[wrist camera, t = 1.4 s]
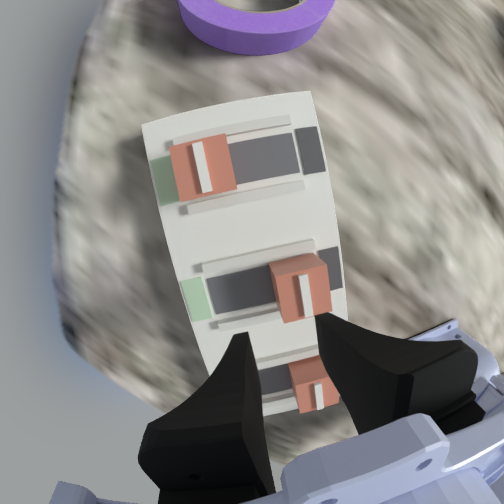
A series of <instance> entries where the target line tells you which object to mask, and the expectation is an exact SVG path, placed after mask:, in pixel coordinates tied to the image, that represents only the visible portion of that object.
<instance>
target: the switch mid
mask: <svg viewBox="0 0 504 504" xmlns="http://www.w3.org/2000/svg"><path fill="white" fill-rule="evenodd" d="M268 264H269V269H270V274H271V279H272V284H273V289H274V294H275V299H276V304H277V307H278V310H279V312H280V315H281V317H282V320H283V322H284V324H285V323H289V322H293V321H297V320H301V319H305V318H309V317H313V316H314V315H318V314H322V313H326V312H332V302H331V293H330V285H329V277H328V269H327V264H326V263H325V262H324V261H323V260H321V259H320V258H319V257H318V256H317V255H315V254H314V253H309V254H305V255H300V256H296V257H292V258H287V259H283V260H278V261H274V262H270V263H268Z"/></svg>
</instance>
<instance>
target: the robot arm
mask: <svg viewBox="0 0 504 504" xmlns="http://www.w3.org/2000/svg"><path fill="white" fill-rule="evenodd" d="M314 317H315V325H316V333H317V341H318V349H319V355H320V357H321V360H322V362H323V365H324V367H325V370H326V372H327V374H328V375H329V377H330V379H331V381H332V382H333V384H334V386H335V387H336V389H337V391H338V393H339V394H340V396H341V398H342V399H343V401H344V403H345V405H346V406H347V408H348V410H349V412H350V415H351V417H352V419H353V422H354V424H355V427H356V429H357V432H358V434H359V435H358V436H355V437H352V438H349V439H346V440H343V441H340V442H337V443H334V444H330V445H327V446H324V447H320V448H317V449H314V450H312V451H309V452H307V453H304V454H302V455H299V456H298V457H297V458H295V459H294V460H293V461H292V462H290V463H289V464H288V465H286V466H285V467H284V468H283V471H282V475H281V483H282V488H283V491H280V492H277V493H276V491H275V486H274V481H273V476H272V471H271V466H270V461H269V456H268V451H267V445H266V440H265V434H264V425H263V408H262V392H261V383H260V378H259V373H258V368H257V364H256V360H255V356H254V352H253V349H252V345H251V341H250V337H249V333H248V331H247V332H242V333H238V334H234V335H233V336H232V339H231V341H230V343H229V345H228V347H227V349H226V351H225V353H224V355H223V357H222V359H221V360H220V362H219V364H218V365H217V367H216V368H215V370H214V371H213V373H212V374H211V375H210V377H209V378H208V379H207V380H206V382H205V383H204V384H203V385H202V386H201V387H200V388H199V389H198V390H197V391H196V392H195V393H194V394H192V395H191V396H190V397H189V398H188V399H187V400H186V401H184V402H183V403H182V404H180V405H179V406H178V407H176V408H175V409H173V410H172V411H170V412H169V413H167V414H165V415H163V416H162V417H160V418H158V419H156V420H154V421H152V422H150V423H148V425H147V428H146V430H145V433H144V435H143V439H142V442H141V446H140V450H139V454H138V463H139V465H140V466H141V468H142V470H143V471H144V472H145V473H146V474H147V475H148V476H149V478H150V479H151V480H152V481H153V482H154V483H155V484H156V485H157V486H158V488H159V489H160V493H159V500H158V504H504V376H503V375H502V374H500V372H499V366H498V363H497V361H496V359H495V357H494V356H493V354H492V353H491V352H490V351H489V350H488V349H486V348H485V347H484V346H483V345H481V344H480V343H479V342H477V341H476V340H474V339H473V338H472V337H470V336H469V335H468V334H466V333H465V332H464V331H462V330H461V329H459V328H458V323H459V321H458V320H457V319H453V320H451V321H449V322H447V323H445V324H442V325H440V326H438V327H436V328H434V329H431V330H429V331H427V332H424V333H422V334H420V335H417V336H415V337H412V338H410V339H408V340H407V339H400V338H395V337H390V336H386V335H382V334H379V333H375V332H373V331H370V330H367V329H364V328H362V327H359V326H357V325H355V324H352V323H350V322H348V321H346V320H344V319H342V318H340V317H338V316H336V315H334V314H331V313H329V312H326V313H322V314H318V315H314ZM49 504H135V503H127V502H118V501H112V500H106V499H100V498H97V497H96V496H95V495H94V494H93V493H92V492H91V491H90V490H88V489H87V488H85V487H83V486H80V485H76V484H71V483H67V482H63V481H58V483H57V485H56V488H55V490H54V493H53V495H52V498H51V500H50V503H49Z"/></svg>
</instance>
